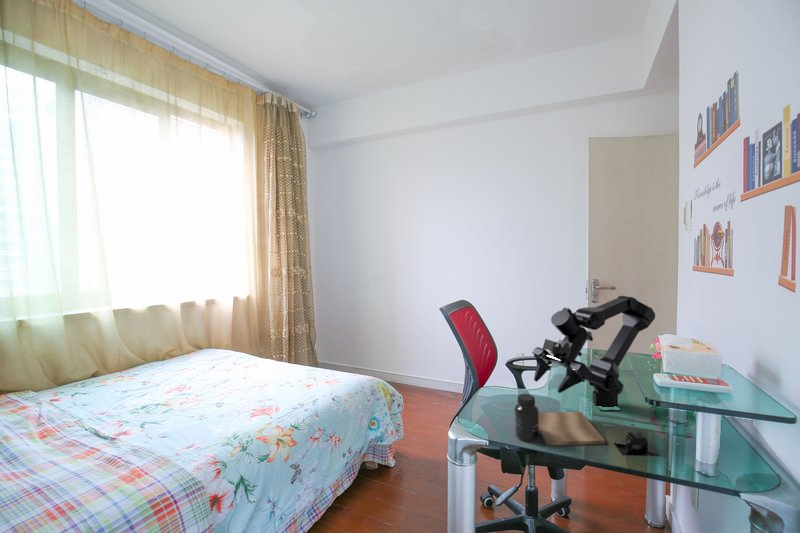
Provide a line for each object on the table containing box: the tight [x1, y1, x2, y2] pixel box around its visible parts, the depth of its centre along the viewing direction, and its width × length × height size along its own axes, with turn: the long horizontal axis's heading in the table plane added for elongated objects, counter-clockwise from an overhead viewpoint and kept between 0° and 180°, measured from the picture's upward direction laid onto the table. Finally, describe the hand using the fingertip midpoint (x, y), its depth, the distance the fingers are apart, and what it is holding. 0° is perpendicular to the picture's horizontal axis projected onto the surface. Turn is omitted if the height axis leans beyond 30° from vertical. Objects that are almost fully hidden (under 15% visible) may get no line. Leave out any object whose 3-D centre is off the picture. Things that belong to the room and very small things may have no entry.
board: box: [539, 411, 606, 446], centre depth 112 cm, size 16×16×1 cm
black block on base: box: [613, 431, 661, 457], centre depth 100 cm, size 12×7×5 cm, turn 83°
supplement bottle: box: [513, 393, 540, 442], centre depth 109 cm, size 7×7×12 cm
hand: (546, 386), depth 112 cm, fingers open, 9 cm apart
